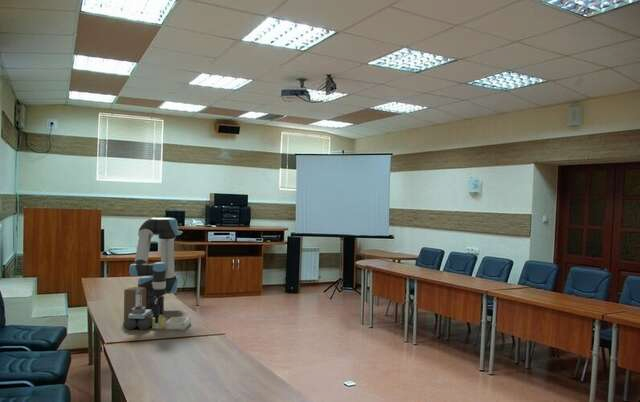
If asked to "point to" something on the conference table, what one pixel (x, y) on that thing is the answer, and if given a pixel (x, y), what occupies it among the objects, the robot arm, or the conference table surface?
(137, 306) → the pin
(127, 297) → the block
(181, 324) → the tray
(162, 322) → the yellow cube
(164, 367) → the conference table surface
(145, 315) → the grey plate on cylinders
